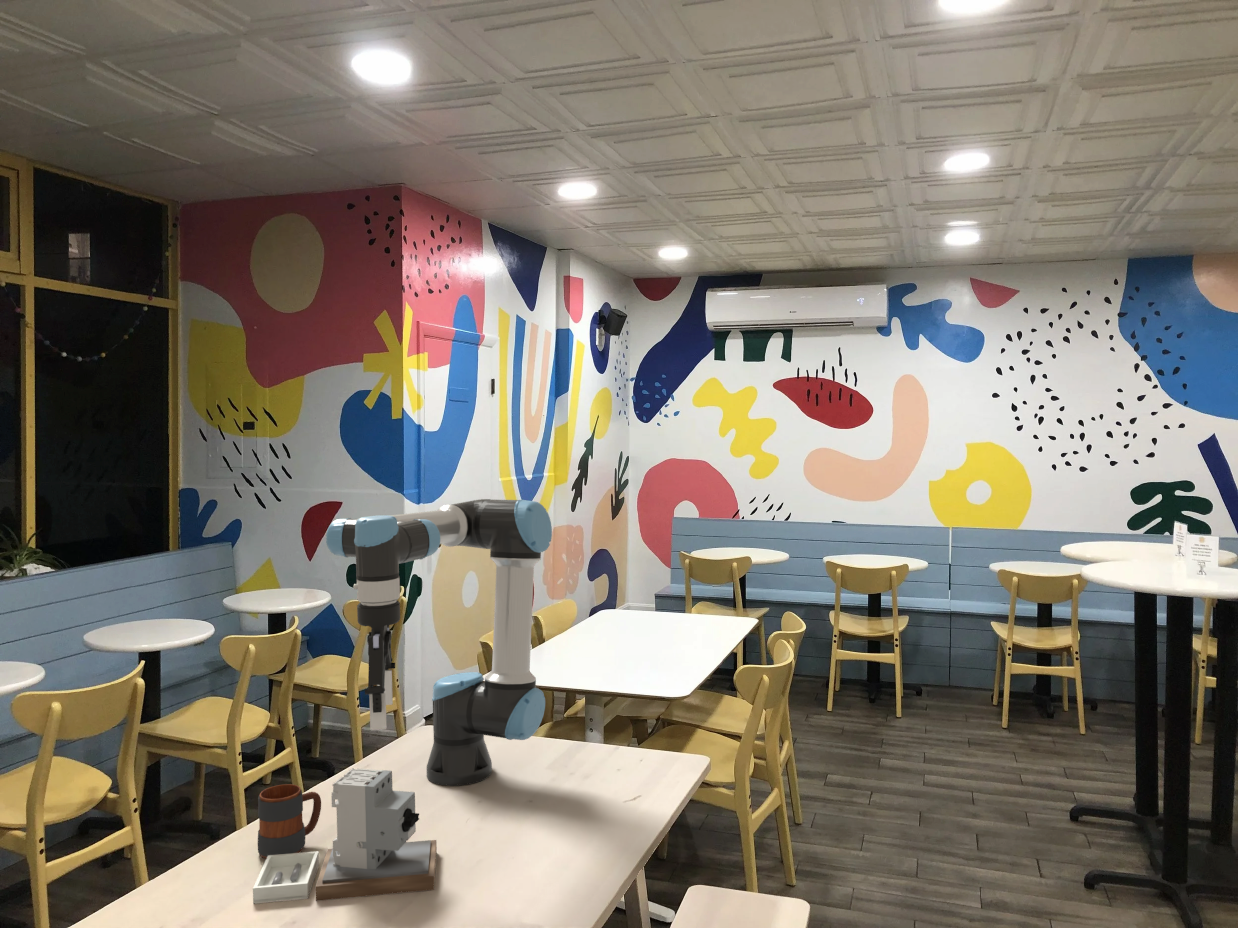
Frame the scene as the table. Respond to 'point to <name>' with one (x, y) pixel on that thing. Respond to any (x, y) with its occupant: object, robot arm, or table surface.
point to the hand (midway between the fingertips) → (382, 716)
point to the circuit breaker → (370, 818)
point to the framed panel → (381, 874)
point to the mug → (284, 819)
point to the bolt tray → (286, 877)
